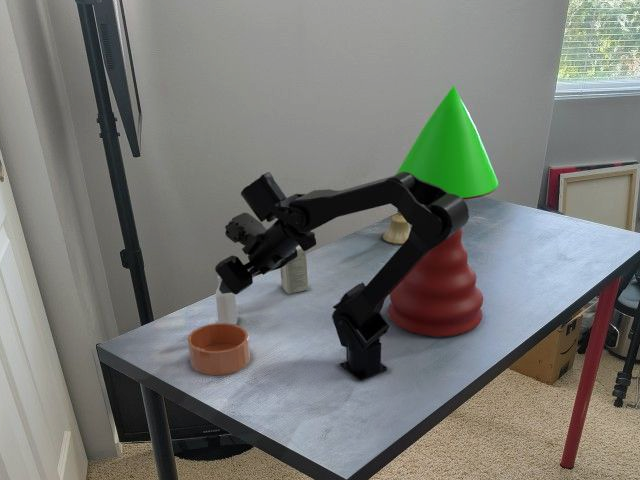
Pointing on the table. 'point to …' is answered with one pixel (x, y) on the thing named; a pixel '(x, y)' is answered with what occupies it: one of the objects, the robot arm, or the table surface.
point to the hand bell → (397, 230)
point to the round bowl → (219, 348)
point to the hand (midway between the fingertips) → (236, 282)
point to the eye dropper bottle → (226, 306)
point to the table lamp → (450, 255)
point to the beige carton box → (295, 273)
